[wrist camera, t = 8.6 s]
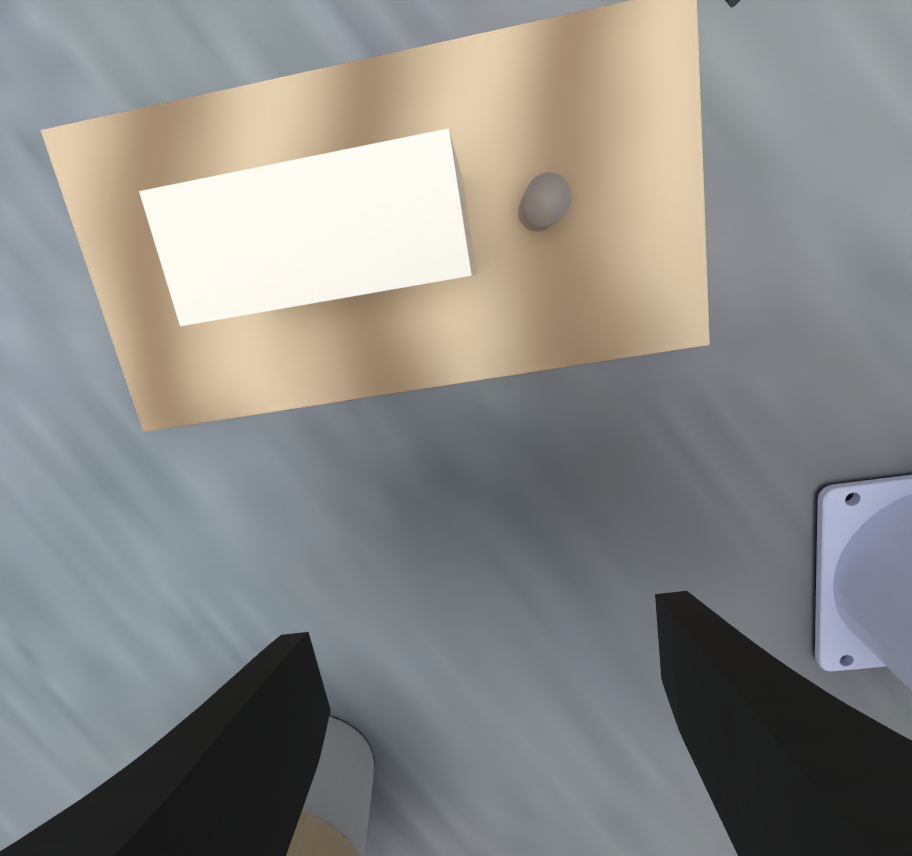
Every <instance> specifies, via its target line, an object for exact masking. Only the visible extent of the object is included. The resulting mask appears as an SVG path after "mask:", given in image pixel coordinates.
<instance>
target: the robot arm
mask: <svg viewBox="0 0 912 856" xmlns="http://www.w3.org/2000/svg"><path fill="white" fill-rule="evenodd" d="M850 493H853V497H852V498H851V499H850V500H848V501H845V498H846V496H847V495H848V494H850ZM655 599H656V612H657V626H658V639H659V652H660V666H661V679H662V682H663V685H664V688H665V691H666V694H667V697H668V700H669V703H670V706H671V709H672V712H673V715H674V718H675V720H676V723H677V726H678V729H679V732H680V734H681V736H682V738H683V740H684V742H685V745H686V747H687V749H688V751H689V753H690V755H691V757H692V760H693V762H694V764H695V766H696V768H697V770H698V772H699V774H700V777H701V779H702V781H703V783H704V785H705V787H706V789H707V791H708V793H709V796H710V798H711V800H712V802H713V804H714V806H715V808H716V810H717V812H718V814H719V817H720V819H721V821H722V823H723V825H724V827H725V829H726V831H727V833H728V836H729V838H730V840H731V842H732V844H733V846H734V848H735V850H736V852H737V855H738V856H912V740H910V739H908V738H906V737H904V736H902V735H900V734H898V733H897V732H895V731H893V730H891V729H889V728H888V727H886V726H884V725H882V724H881V723H879V722H877V721H875V720H874V719H872V718H870V717H868V716H866V715H865V714H863V713H861V712H859V711H858V710H856V709H854V708H852V707H851V706H849V705H847V704H846V703H844V702H842V701H841V700H839V699H837V698H836V697H834V696H832V695H831V694H829V693H827V692H826V691H824V690H823V689H821V688H820V687H818V686H817V685H815V684H814V683H812V682H811V681H809V680H807V679H806V678H804V677H803V676H801V675H800V674H798V673H797V672H795V671H794V670H792V669H791V668H789V667H788V666H786V665H785V664H783V663H782V662H780V661H779V660H778V659H776V658H775V657H773V656H772V655H770V654H769V653H768V652H766V651H765V650H764V649H762V648H761V647H759V646H758V645H757V644H755V643H754V642H752V641H751V640H750V639H748V638H747V637H746V636H744V635H743V634H742V633H740V632H739V631H738V630H737V629H735V628H734V627H733V626H731V625H730V624H729V623H727V622H726V621H725V620H724V619H722V618H721V617H720V616H718V615H717V614H716V613H715V612H713V611H712V610H711V609H710V608H708V607H707V606H706V605H704V604H703V603H702V602H701V601H699V600H698V599H697V598H695V597H694V596H693V595H691V594H690V593H689V592H688V591H682V592H672V593H663V594H655ZM845 655H846V657H844V658H843V659H840V658H842V657H843V656H845ZM815 660H816V662H817V663H818V664H819V665H820V666H821V668H822V669H824V670H826V671H842V670H853V669H864V668H875V667H886V666H887V667H888V668H889V669H890V670H891V671H892V672H893V673H894V674H895V675H896V676H897V677H898V678H899V679H900V680H901V681H902V682H903V683H904V684H905V685H906V686H907V687H908V688H909V689H910V690H911V691H912V475H905V476H897V477H889V478H881V479H873V480H865V481H857V482H849V483H841V484H833V485H829V486H827V487H825V488H824V489H822V491H821V492H820V493H819V496H818V519H817V571H816V623H815ZM329 715H330V706H329V703H328V699H327V696H326V692H325V689H324V685H323V682H322V678H321V675H320V671H319V668H318V664H317V660H316V657H315V653H314V650H313V646H312V643H311V639H310V636H309V632H303V633H294V634H285V635H281V636H279V637H278V638H277V639H275V640H274V641H273V642H272V643H271V644H269V645H268V646H267V647H266V648H265V649H264V650H262V651H261V652H260V653H259V654H258V655H257V656H256V657H254V658H253V659H252V660H251V661H250V662H249V663H248V664H247V665H246V666H244V667H243V668H242V669H241V670H240V671H239V672H238V673H237V674H236V675H235V676H233V677H232V678H231V679H230V680H229V681H228V682H227V683H226V684H224V685H223V686H222V687H221V688H220V689H219V690H218V691H217V692H216V693H214V694H213V695H212V696H211V697H210V698H209V699H208V700H207V701H205V702H204V703H203V704H202V705H201V706H200V707H199V708H197V709H196V710H195V711H194V712H193V713H191V714H190V715H189V716H188V717H187V718H185V719H184V720H183V721H182V722H181V723H179V724H178V725H177V726H176V727H175V728H174V729H172V730H171V731H170V732H169V733H168V734H166V735H165V736H164V737H163V738H162V739H160V740H159V741H158V742H157V743H156V744H154V745H153V746H152V747H151V748H149V749H148V750H147V751H146V752H144V753H143V754H142V755H141V756H139V757H138V758H137V759H135V760H134V761H133V762H131V763H130V764H129V765H127V766H126V767H125V768H123V769H122V770H121V771H119V772H118V773H117V774H115V775H114V776H113V777H111V778H110V779H108V780H107V781H106V782H104V783H103V784H102V785H100V786H99V787H97V788H96V789H95V790H93V791H92V792H90V793H89V794H88V795H86V796H85V797H83V798H82V799H80V800H79V801H77V802H76V803H74V804H73V805H71V806H70V807H68V808H67V809H65V810H64V811H62V812H61V813H59V814H57V815H56V816H54V817H53V818H51V819H50V820H48V821H47V822H45V823H44V824H42V825H41V826H39V827H38V828H36V829H35V830H33V831H32V832H30V833H28V834H27V835H25V836H24V837H22V838H21V839H19V840H18V841H16V842H14V843H13V844H11V845H10V846H8V847H6V848H5V849H3V850H1V851H0V856H286V855H287V852H288V849H289V846H290V843H291V841H292V838H293V835H294V832H295V829H296V827H297V824H298V821H299V818H300V815H301V813H302V810H303V807H304V804H305V801H306V798H307V795H308V793H309V790H310V787H311V784H312V781H313V778H314V775H315V772H316V769H317V766H318V763H319V760H320V756H321V752H322V748H323V743H324V739H325V735H326V730H327V725H328V720H329Z"/></svg>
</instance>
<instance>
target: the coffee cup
mask: <svg viewBox="0 0 912 856" xmlns="http://www.w3.org/2000/svg"><path fill="white" fill-rule="evenodd" d="M373 778H374V760H373V754H372V752H371V749H370V746H369V744H368V743H367V742H366V740H365V739H364V737H363V736H362V735H361V734H360V733H359V732H358V731H357V730H355V729H354V728H353V727H351V726H350V725H348V724H346V723H345V722H343V721H340V720H338V719H335V718H333V717H330V716H329V720H328V725H327V730H326V735H325V739H324V743H323V748H322V752H321V756H320V760H319V763H318V766H317V769H316V772H315V775H314V778H313V781H312V784H311V787H310V790H309V793H308V795H307V798H306V801H305V804H304V807H303V810H302V813H301V815H300V818H299V821H298V824H297V827H296V829H295V832H294V835H293V838H292V841H291V843H290V846H289V849H288V852H287V855H286V856H364V855H365V847H366V838H367V829H368V821H369V812H370V804H371V795H372V786H373Z"/></svg>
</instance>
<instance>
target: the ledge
mask: <svg viewBox="0 0 912 856" xmlns="http://www.w3.org/2000/svg"><path fill="white" fill-rule="evenodd" d="M448 128H449V131H450V134H451V138H452V142H453V145H454V149H455V153H456V156H457V160H458V164H459V167H460V171H461V175H462V181H463V188H464V194H465V201H466V208H467V214H468V221H469V228H470V234H471V241H472V248H473V254H474V261H475V267H476V274H477V275H473V276H467V277H461V278H455V279H450V280H444V281H438V282H432V283H427V284H421V285H415V286H409V287H404V288H398V289H392V290H386V291H381V292H375V293H369V294H363V295H358V296H352V297H346V298H340V299H335V300H329V301H323V302H317V303H312V304H306V305H300V306H294V307H289V308H283V309H277V310H271V311H266V312H260V313H254V314H248V315H243V316H237V317H231V318H225V319H220V320H214V321H208V322H202V323H197V324H191V325H185V326H180V324H179V321H178V318H177V315H176V311H175V308H174V305H173V301H172V298H171V295H170V292H169V288H168V285H167V282H166V278H165V275H164V272H163V269H162V265H161V262H160V259H159V255H158V252H157V249H156V246H155V242H154V239H153V236H152V232H151V229H150V226H149V222H148V219H147V216H146V213H145V209H144V206H143V203H142V199H141V196H140V193H139V191H143V190H148V189H153V188H157V187H162V186H167V185H172V184H177V183H182V182H187V181H192V180H197V179H202V178H207V177H212V176H217V175H221V174H226V173H231V172H236V171H241V170H246V169H251V168H256V167H261V166H266V165H271V164H276V163H280V162H285V161H290V160H295V159H300V158H305V157H310V156H315V155H320V154H325V153H330V152H335V151H340V150H344V149H349V148H354V147H359V146H364V145H369V144H374V143H379V142H384V141H389V140H394V139H399V138H403V137H408V136H413V135H418V134H423V133H428V132H433V131H438V130H443V129H448ZM41 132H42V135H43V138H44V141H45V144H46V147H47V150H48V153H49V156H50V159H51V162H52V165H53V168H54V171H55V174H56V176H57V179H58V182H59V185H60V188H61V191H62V194H63V197H64V200H65V203H66V206H67V209H68V212H69V215H70V218H71V221H72V223H73V226H74V229H75V232H76V235H77V238H78V241H79V244H80V247H81V250H82V253H83V256H84V259H85V262H86V265H87V268H88V270H89V273H90V276H91V279H92V282H93V285H94V288H95V291H96V294H97V297H98V300H99V303H100V306H101V309H102V312H103V314H104V317H105V320H106V323H107V326H108V329H109V332H110V335H111V338H112V341H113V344H114V347H115V350H116V353H117V356H118V359H119V361H120V364H121V367H122V370H123V373H124V376H125V379H126V382H127V385H128V388H129V391H130V394H131V397H132V400H133V403H134V406H135V408H136V411H137V414H138V417H139V420H140V423H141V426H142V429H143V432H144V431H151V430H157V429H164V428H170V427H177V426H183V425H190V424H196V423H203V422H209V421H216V420H222V419H229V418H235V417H242V416H248V415H255V414H262V413H268V412H275V411H281V410H288V409H294V408H301V407H307V406H314V405H320V404H327V403H333V402H340V401H346V400H353V399H359V398H366V397H372V396H379V395H385V394H392V393H398V392H405V391H411V390H418V389H425V388H431V387H438V386H444V385H451V384H457V383H464V382H470V381H477V380H483V379H490V378H496V377H503V376H509V375H516V374H522V373H529V372H535V371H542V370H548V369H555V368H561V367H568V366H574V365H581V364H588V363H594V362H601V361H607V360H614V359H620V358H627V357H633V356H640V355H646V354H653V353H659V352H666V351H672V350H679V349H685V348H692V347H698V346H705V345H710V341H709V314H708V288H707V261H706V234H705V207H704V181H703V154H702V127H701V101H700V74H699V47H698V21H697V0H630V1H626V2H621V3H617V4H612V5H608V6H603V7H599V8H594V9H590V10H585V11H580V12H576V13H571V14H567V15H562V16H558V17H553V18H549V19H544V20H540V21H535V22H530V23H526V24H521V25H517V26H512V27H508V28H503V29H499V30H494V31H490V32H485V33H480V34H476V35H471V36H467V37H462V38H458V39H453V40H449V41H444V42H440V43H435V44H431V45H426V46H421V47H417V48H412V49H408V50H403V51H399V52H394V53H390V54H385V55H381V56H376V57H371V58H367V59H362V60H358V61H353V62H349V63H344V64H340V65H335V66H331V67H326V68H321V69H317V70H312V71H308V72H303V73H299V74H294V75H290V76H285V77H281V78H276V79H272V80H267V81H262V82H258V83H253V84H249V85H244V86H240V87H235V88H231V89H226V90H222V91H217V92H212V93H208V94H203V95H199V96H194V97H190V98H185V99H181V100H176V101H172V102H167V103H162V104H158V105H153V106H149V107H144V108H140V109H135V110H131V111H126V112H122V113H117V114H113V115H108V116H103V117H99V118H94V119H90V120H85V121H81V122H76V123H72V124H67V125H63V126H58V127H53V128H49V129H44V130H41Z"/></svg>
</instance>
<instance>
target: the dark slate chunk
mask: <svg viewBox="0 0 912 856" xmlns="http://www.w3.org/2000/svg"><path fill="white" fill-rule="evenodd" d="M725 1H726V2H727V3H728V4H729V6H730V7H734V6H735V5H736V4H737V3H738V2H739V1H740V0H725Z"/></svg>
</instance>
